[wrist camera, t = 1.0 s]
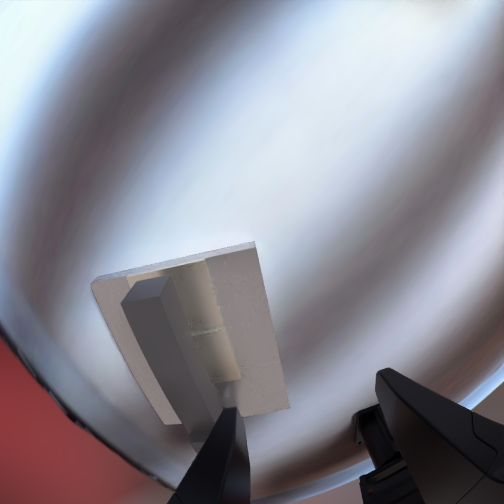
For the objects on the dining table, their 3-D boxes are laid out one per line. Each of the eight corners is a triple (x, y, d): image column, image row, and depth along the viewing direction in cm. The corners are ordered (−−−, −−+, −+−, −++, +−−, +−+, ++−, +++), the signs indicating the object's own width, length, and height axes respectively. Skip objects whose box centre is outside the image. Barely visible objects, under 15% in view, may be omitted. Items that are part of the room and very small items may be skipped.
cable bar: (247, 444, 19) (250, 482, 15) (209, 449, 19) (207, 486, 15) (181, 271, 14) (166, 308, 11) (126, 283, 14) (99, 319, 11)
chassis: (289, 403, 22) (301, 460, 16) (169, 419, 22) (159, 473, 16) (254, 241, 18) (264, 282, 12) (97, 277, 18) (52, 322, 12)
